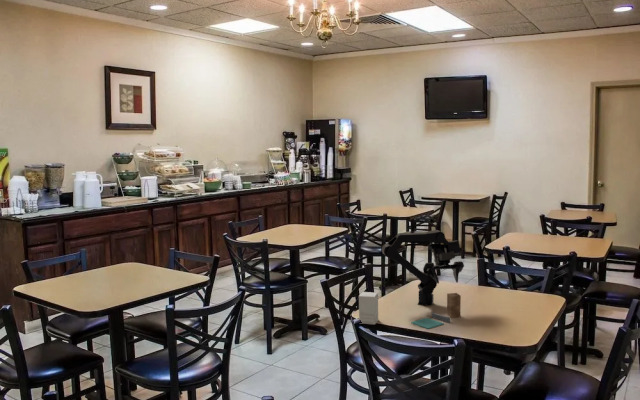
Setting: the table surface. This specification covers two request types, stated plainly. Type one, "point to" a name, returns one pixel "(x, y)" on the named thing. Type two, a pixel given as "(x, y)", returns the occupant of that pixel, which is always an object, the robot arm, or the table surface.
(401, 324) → the table surface
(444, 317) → the low wall
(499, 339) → the table surface
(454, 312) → the walnut pillar
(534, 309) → the table surface
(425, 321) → the mat
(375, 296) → the supplement box
